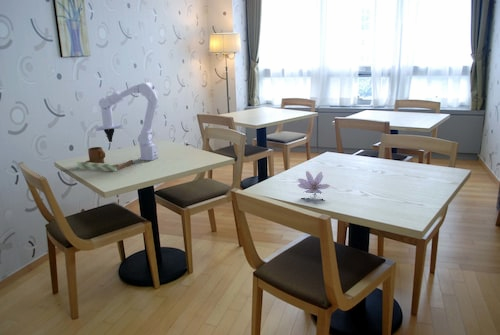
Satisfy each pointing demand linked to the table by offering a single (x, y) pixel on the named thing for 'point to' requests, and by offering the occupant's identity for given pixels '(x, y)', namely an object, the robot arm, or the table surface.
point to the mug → (96, 155)
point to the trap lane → (103, 166)
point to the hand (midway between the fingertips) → (110, 141)
